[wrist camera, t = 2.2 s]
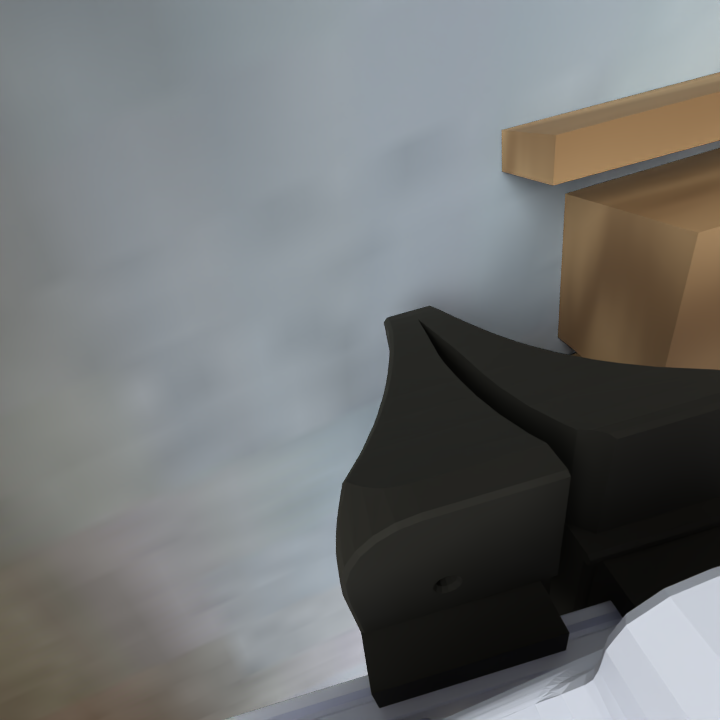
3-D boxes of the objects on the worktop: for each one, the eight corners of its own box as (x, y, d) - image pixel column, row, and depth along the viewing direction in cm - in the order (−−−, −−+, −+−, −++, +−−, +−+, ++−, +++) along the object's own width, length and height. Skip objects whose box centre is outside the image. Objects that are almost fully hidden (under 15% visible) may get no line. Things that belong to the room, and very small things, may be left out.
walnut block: (711, 288, 14) (862, 350, 11) (555, 335, 14) (653, 414, 11) (755, 135, 12) (980, 148, 8) (562, 193, 12) (698, 233, 8)
